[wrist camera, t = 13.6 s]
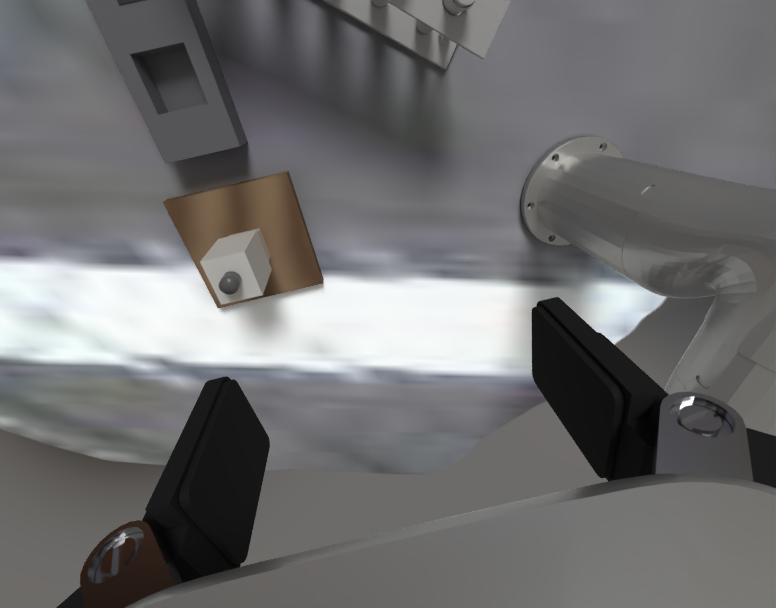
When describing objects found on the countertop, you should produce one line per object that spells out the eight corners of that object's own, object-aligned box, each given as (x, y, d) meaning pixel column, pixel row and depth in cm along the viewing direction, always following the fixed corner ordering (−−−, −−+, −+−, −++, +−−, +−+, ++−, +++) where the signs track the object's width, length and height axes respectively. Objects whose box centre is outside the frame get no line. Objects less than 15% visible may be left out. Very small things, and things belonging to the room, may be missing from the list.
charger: (260, 222, 39) (240, 258, 31) (274, 260, 42) (259, 303, 33) (224, 231, 39) (194, 269, 31) (240, 268, 41) (216, 313, 33)
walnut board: (288, 171, 38) (287, 173, 37) (323, 278, 45) (323, 283, 44) (167, 199, 38) (162, 202, 37) (220, 303, 45) (217, 308, 44)
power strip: (124, -196, 25) (90, -243, 22) (247, 142, 36) (238, 147, 33) (24, -175, 25) (-25, -218, 22) (179, 158, 36) (163, 164, 33)
